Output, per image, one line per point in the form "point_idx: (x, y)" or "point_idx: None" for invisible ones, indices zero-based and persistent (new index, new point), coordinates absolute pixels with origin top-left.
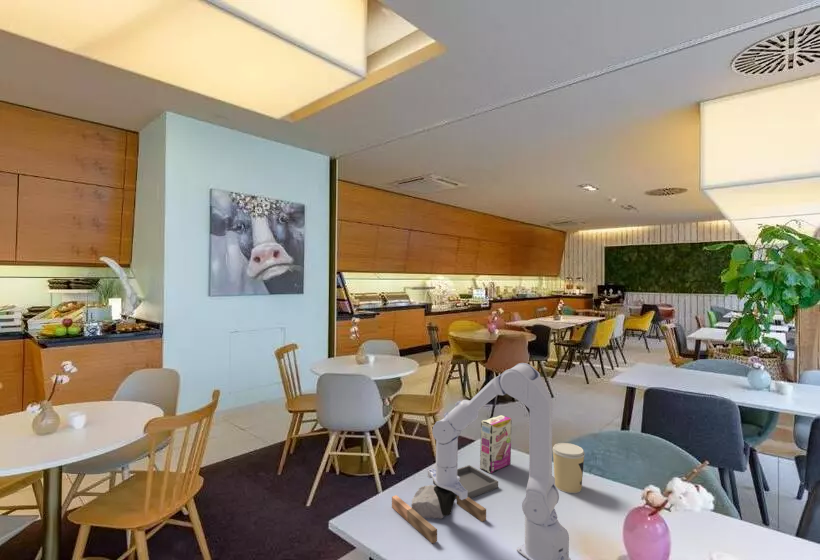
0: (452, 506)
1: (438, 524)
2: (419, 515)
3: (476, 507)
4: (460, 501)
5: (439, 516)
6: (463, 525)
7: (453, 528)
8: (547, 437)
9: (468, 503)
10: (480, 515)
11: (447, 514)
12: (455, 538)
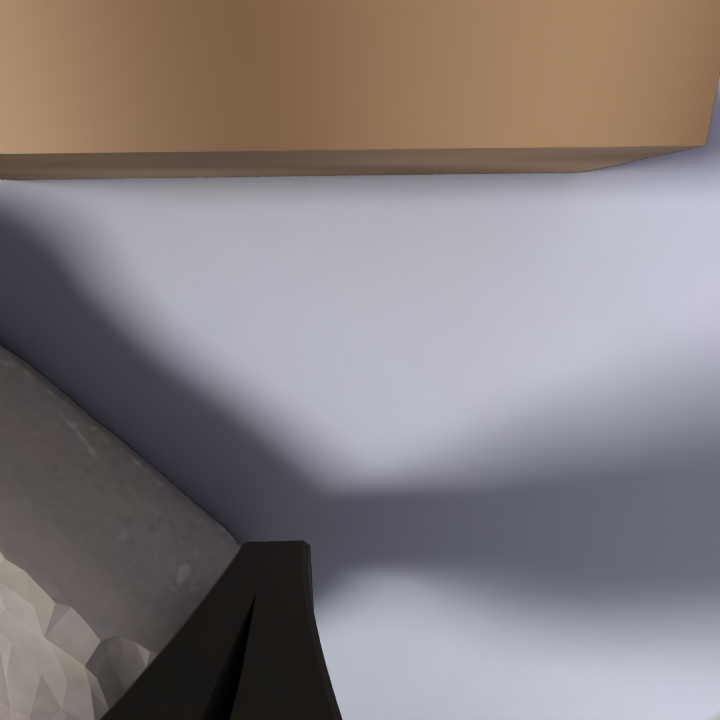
0: (315, 621)
1: None
2: None
3: (514, 147)
4: (45, 170)
5: None
6: (478, 430)
7: (452, 547)
8: None
9: (259, 158)
10: (584, 161)
11: (312, 602)
12: (584, 617)
